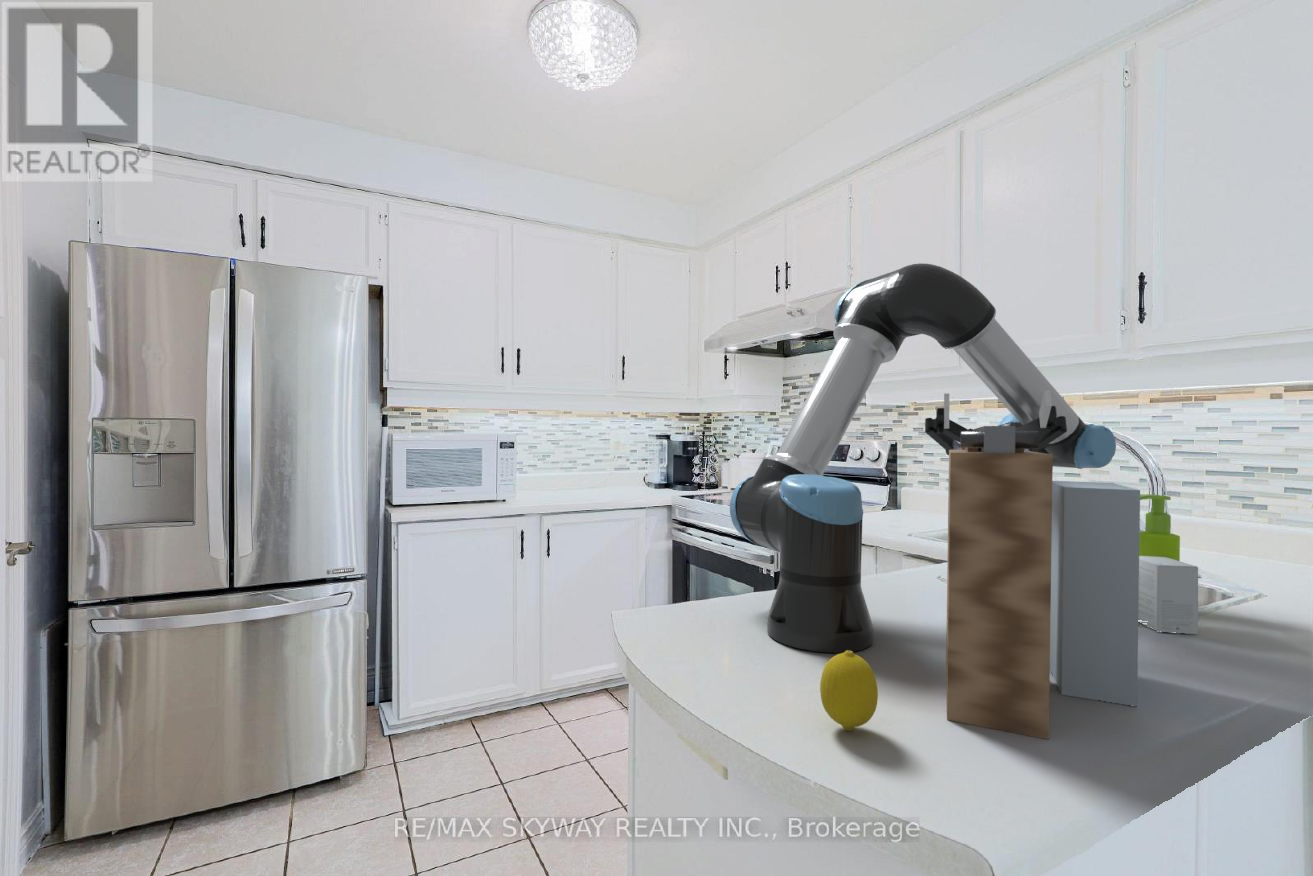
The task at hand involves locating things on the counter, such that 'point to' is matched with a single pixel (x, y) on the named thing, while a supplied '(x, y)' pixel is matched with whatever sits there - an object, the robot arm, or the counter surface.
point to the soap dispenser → (1158, 531)
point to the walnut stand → (999, 590)
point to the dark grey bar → (999, 439)
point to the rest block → (1095, 590)
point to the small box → (1168, 595)
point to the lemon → (849, 690)
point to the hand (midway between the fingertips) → (995, 399)
